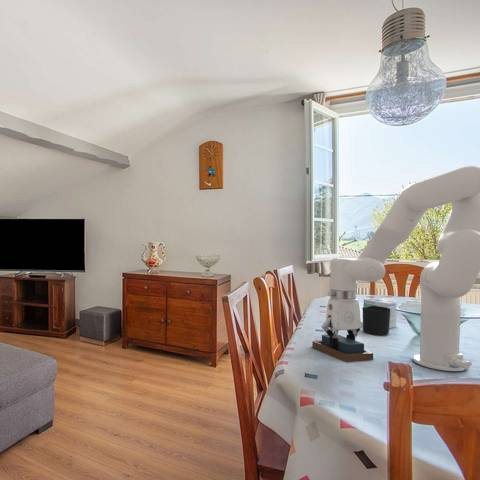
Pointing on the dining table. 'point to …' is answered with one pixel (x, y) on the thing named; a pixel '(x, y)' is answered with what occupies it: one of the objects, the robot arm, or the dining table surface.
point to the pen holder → (376, 320)
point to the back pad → (345, 344)
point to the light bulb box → (384, 303)
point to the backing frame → (341, 355)
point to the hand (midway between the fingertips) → (342, 347)
